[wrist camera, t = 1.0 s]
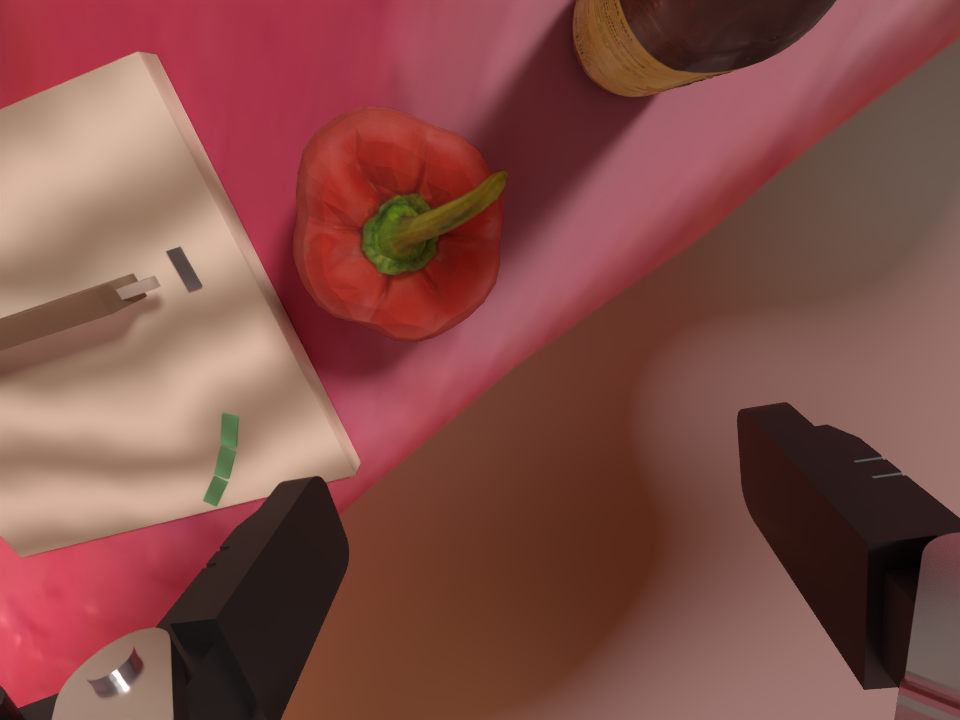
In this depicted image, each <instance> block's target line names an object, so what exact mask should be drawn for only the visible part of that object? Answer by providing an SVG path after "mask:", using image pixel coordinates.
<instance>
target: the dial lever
mask: <svg viewBox="0 0 960 720" xmlns="http://www.w3.org/2000/svg"><path fill="white" fill-rule="evenodd" d="M160 286H161V285H160V283H159V282H158V280H157V278H156V277H155V276H152V277H149V278H146V279H143V280H140V281H138V280H137V278H136V277H135V275H134V273H132V274H130V275H127V276H124V277H121V278H118V279H115V280H112V281H109V282H106V283H103V284H100V285H97V286H94V287H91V288H88V289H86V290H83V291H80V292H77V293H74V294H71V295H68V296H65V297H62V298H59V299H56V300H53V301H50V302H47V303H44V304H42V305H39V306H36V307H33V308H30V309H27V310H24V311H21V312H18V313H15V314H12V315H9V316H6V317H3V318H1V319H0V351H2V350H5V349H8V348H11V347H14V346H17V345H20V344H23V343H26V342H29V341H32V340H35V339H38V338H41V337H44V336H47V335H50V334H54V333H57V332H60V331H63V330H66V329H69V328H72V327H75V326H78V325H81V324H84V323H87V322H90V321H93V320H96V319H99V318H102V317H105V316H108V315H111V314H113V313H115V312H117V311H119V310H121V309H123V308H125V307H127V306H129V305H131V304H133V303H135V302H137V301H139V300H141V299H143V298H145V297H147V295H146V293H145V292H148V291H151V290H154V289H156V288H158V287H160Z"/></svg>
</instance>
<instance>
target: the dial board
mask: <svg viewBox="0 0 960 720" xmlns="http://www.w3.org/2000/svg"><path fill="white" fill-rule="evenodd" d="M132 273H134V275H135V277H136V278H137V280H138V281H140V280H143V279H146V278H149V277H152V276H155V277H156V278H157V280H158V282H159V283H160V285H161V286H160V287H158V288H156V289H154V290H151V291H148V292H145V293H146V295H147V297H145V298H143V299H141V300H139V301H137V302H135V303H133V304H131V305H129V306H127V307H125V308H123V309H121V310H119V311H117V312H115V313H113V314H111V315H108V316H105V317H102V318H99V319H96V320H93V321H90V322H87V323H84V324H81V325H78V326H75V327H72V328H69V329H66V330H63V331H60V332H57V333H54V334H50V335H47V336H44V337H41V338H38V339H35V340H32V341H29V342H26V343H23V344H20V345H17V346H14V347H11V348H8V349H5V350H2V351H0V536H1V537H2V538H3V539H4V540H5V541H6V542H7V543H8V544H9V545H10V547H11V548H12V549H13V550H14V551H15V552H16V553H17V554H18V555H19V556H20V557H25V556H29V555H33V554H37V553H41V552H45V551H50V550H54V549H58V548H62V547H66V546H70V545H74V544H78V543H82V542H86V541H90V540H94V539H98V538H102V537H106V536H110V535H114V534H118V533H123V532H127V531H131V530H135V529H139V528H143V527H147V526H151V525H155V524H159V523H163V522H167V521H171V520H175V519H179V518H183V517H187V516H191V515H196V514H200V513H204V512H208V511H212V510H216V509H220V508H224V507H228V506H232V505H236V504H240V503H244V502H248V501H252V500H256V499H260V498H264V497H269V495H270V494H271V493H272V492H273V490H274V489H275V488H276V486H277V485H278V484H279V483H281V482H283V481H288V480H294V479H300V478H306V477H313V476H319V477H321V478H323V480H324V481H325V482H329V481H333V480H337V479H341V478H346V477H350V476H354V475H356V472H357V470H358V467H359V465H360V462H361V461H360V459H359V457H358V455H357V453H356V451H355V449H354V447H353V445H352V443H351V441H350V439H349V437H348V435H347V433H346V431H345V429H344V427H343V425H342V423H341V421H340V419H339V417H338V415H337V413H336V411H335V409H334V407H333V405H332V403H331V401H330V399H329V397H328V395H327V393H326V391H325V389H324V387H323V385H322V383H321V381H320V379H319V377H318V375H317V373H316V371H315V369H314V367H313V365H312V363H311V362H310V360H309V358H308V356H307V354H306V352H305V350H304V348H303V346H302V344H301V342H300V340H299V338H298V336H297V334H296V332H295V330H294V328H293V326H292V324H291V322H290V320H289V318H288V316H287V314H286V312H285V310H284V308H283V306H282V304H281V302H280V300H279V298H278V296H277V294H276V292H275V290H274V288H273V286H272V284H271V282H270V280H269V278H268V276H267V274H266V272H265V270H264V268H263V266H262V264H261V262H260V260H259V258H258V256H257V254H256V252H255V250H254V248H253V246H252V244H251V242H250V240H249V238H248V236H247V234H246V232H245V230H244V228H243V226H242V224H241V222H240V220H239V218H238V216H237V214H236V212H235V210H234V208H233V206H232V204H231V202H230V200H229V198H228V196H227V194H226V192H225V190H224V188H223V186H222V184H221V182H220V180H219V178H218V176H217V174H216V172H215V170H214V168H213V166H212V164H211V162H210V160H209V158H208V156H207V154H206V152H205V150H204V148H203V146H202V144H201V142H200V140H199V138H198V136H197V134H196V132H195V130H194V128H193V126H192V124H191V122H190V120H189V118H188V116H187V114H186V112H185V110H184V108H183V106H182V104H181V102H180V100H179V98H178V96H177V94H176V92H175V90H174V88H173V86H172V84H171V82H170V80H169V78H168V76H167V74H166V72H165V70H164V68H163V66H162V64H161V62H160V60H159V58H158V56H157V55H155V54H149V53H144V52H135V53H133V54H131V55H128V56H126V57H123V58H121V59H119V60H116V61H114V62H112V63H109V64H107V65H105V66H102V67H100V68H97V69H95V70H93V71H90V72H88V73H86V74H83V75H81V76H78V77H76V78H74V79H71V80H69V81H67V82H64V83H62V84H60V85H57V86H55V87H52V88H50V89H48V90H45V91H43V92H41V93H38V94H36V95H33V96H31V97H29V98H26V99H24V100H22V101H19V102H17V103H14V104H12V105H10V106H7V107H5V108H3V109H0V319H1V318H3V317H6V316H9V315H12V314H15V313H18V312H21V311H24V310H27V309H30V308H33V307H36V306H39V305H42V304H44V303H47V302H50V301H53V300H56V299H59V298H62V297H65V296H68V295H71V294H74V293H77V292H80V291H83V290H86V289H88V288H91V287H94V286H97V285H100V284H103V283H106V282H109V281H112V280H115V279H118V278H121V277H124V276H127V275H130V274H132Z"/></svg>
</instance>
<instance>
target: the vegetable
mask: <svg viewBox="0 0 960 720" xmlns="http://www.w3.org/2000/svg"><path fill="white" fill-rule="evenodd" d="M507 177H508V175H507V172H505V171H499V172H496V173H493V171H492V170H491V168H490V167H489V165H488V164H487V163H486V161H485V160H484V158H483V157H482V155H481V154H480V153H479V151H478V150H477V149H476V148H475V147H474V146H472V145H471V144H470V143H468V142H467V141H466V140H464V139H463V138H462V137H461V136H459V135H458V134H457V133H454V132H451V131H448V130H445V129H442V128H439V127H436V126H433V125H431V124H429V123H427V122H425V121H423V120H420V119H418V118H416V117H414V116H412V115H409V114H406V113H403V112H400V111H397V110H394V109H391V108H388V107H367V106H366V107H362V108H358V109H354V110H350V111H347V112H345V113H343V114H342V115H340V116H338V117H337V118H335V119H333V120H332V121H330V122H329V123H327V124H326V125H325V126H323V127H322V128H321V129H319V130H318V131H317V132H315V134H314V135H313V137H312V138H311V140H310V141H309V143H308V145H307V146H306V148H305V149H304V151H303V155H302V159H301V163H300V167H299V171H298V179H297V188H296V201H297V219H296V225H295V231H294V236H293V259H294V262H295V265H296V267H297V270H298V273H299V276H300V279H301V281H302V283H303V285H304V287H305V289H306V290H307V291H308V293H309V294H310V296H311V297H312V298H313V300H314V301H315V302H316V304H317V305H318V306H319V307H321V308H322V309H324V310H325V311H327V312H328V313H330V314H331V315H333V316H334V317H336V318H340V319H344V320H348V321H352V322H356V323H358V324H361V325H363V326H365V327H367V328H370V329H372V330H374V331H377V332H379V333H381V334H383V335H385V336H387V337H389V338H391V339H394V340H396V341H411V342H418V341H422V340H426V339H430V338H434V337H436V336H438V335H440V334H442V333H444V332H445V331H447V330H449V329H451V328H453V327H454V326H456V325H457V324H459V323H460V322H462V321H463V320H465V319H466V318H468V317H469V316H470V315H471V314H472V313H473V312H474V311H475V310H476V309H477V308H478V307H479V306H480V305H481V304H483V303H484V301H485V299H486V298H487V296H488V295H489V293H490V292H491V290H492V289H493V287H494V285H495V284H496V279H497V275H498V271H499V266H500V251H499V240H500V235H501V231H502V226H503V193H502V190H503V189H504V187H505V184H506V182H507Z"/></svg>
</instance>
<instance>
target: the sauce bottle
mask: <svg viewBox="0 0 960 720" xmlns="http://www.w3.org/2000/svg"><path fill="white" fill-rule="evenodd" d="M835 1H836V0H577V1H576V5H575V10H574V18H573V24H572V25H573V43H574V52H575V54H576V59H577V61H578V62H579V63H580V65H581V67H582V68H583V70H584V71H585V72H586V74H587V75H588V77H589V78H590V79H591V80H592V81H593V82H594V83H595V84H596V85H597V86H599V87H600V88H601V89H602V90H604V91H606V92H610V93H612V94H615V95H622V96H627V97H642V96H649V95H654V94H657V93H660V92H663V91H667V90H670V89H673V88H677V87H682V86H686V85H690V84H692V83H694V82H698V81H703V80H705V79H709V78H712V77H714V76H719V75H722V74H726V73H730V72H732V71H735V70H738V69H741V68H744V67H747V66H750V65H753V64H756V63H759V62H762V61H764V60H766V59H768V58H770V57H772V56H774V55H776V54H778V53H780V52H781V51H783V50H784V49H786V48H788V47H789V46H791V45H792V44H793V43H795V42H796V41H798V40H799V39H800V38H801V37H802V36H804V35H805V34H806V33H807V32H808V31H809V30H811V29H812V28H813V27H814V26H815V25H816V24H817V23H818V21H819V20H820V19H821V18H822V17H823V16H824V15H825V14H826V12H827V11H828V10H829V9H830V8H831V7H832V5H833V4H834V3H835Z"/></svg>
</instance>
